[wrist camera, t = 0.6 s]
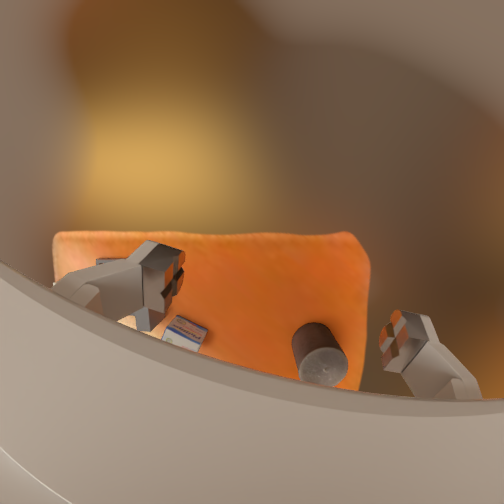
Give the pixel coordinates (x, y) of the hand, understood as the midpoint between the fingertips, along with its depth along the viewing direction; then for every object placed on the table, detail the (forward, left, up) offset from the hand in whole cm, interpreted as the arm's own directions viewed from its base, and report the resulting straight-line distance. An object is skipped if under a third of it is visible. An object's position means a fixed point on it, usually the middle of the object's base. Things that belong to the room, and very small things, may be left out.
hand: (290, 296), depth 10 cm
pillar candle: (-24, -11, -50) cm, 56 cm away
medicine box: (-21, +17, -50) cm, 57 cm away
